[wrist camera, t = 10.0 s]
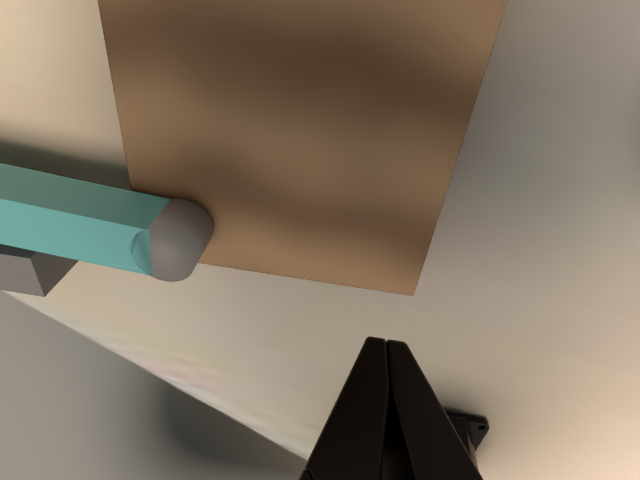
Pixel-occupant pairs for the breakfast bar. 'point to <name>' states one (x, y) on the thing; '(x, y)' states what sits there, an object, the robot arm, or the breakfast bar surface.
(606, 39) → the breakfast bar surface
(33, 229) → the leg
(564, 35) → the breakfast bar surface
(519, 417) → the breakfast bar surface
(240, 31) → the board
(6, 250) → the post
